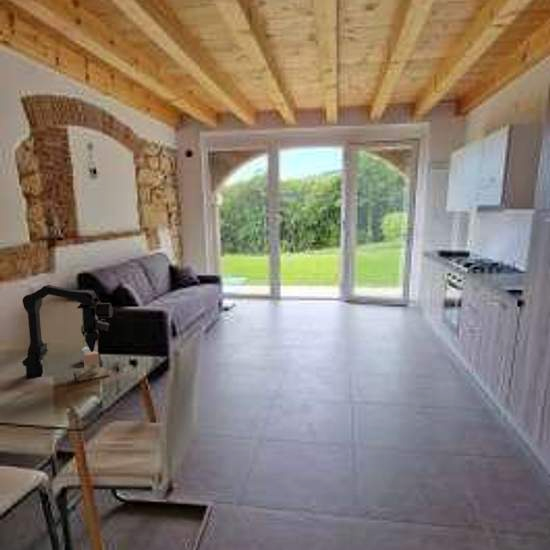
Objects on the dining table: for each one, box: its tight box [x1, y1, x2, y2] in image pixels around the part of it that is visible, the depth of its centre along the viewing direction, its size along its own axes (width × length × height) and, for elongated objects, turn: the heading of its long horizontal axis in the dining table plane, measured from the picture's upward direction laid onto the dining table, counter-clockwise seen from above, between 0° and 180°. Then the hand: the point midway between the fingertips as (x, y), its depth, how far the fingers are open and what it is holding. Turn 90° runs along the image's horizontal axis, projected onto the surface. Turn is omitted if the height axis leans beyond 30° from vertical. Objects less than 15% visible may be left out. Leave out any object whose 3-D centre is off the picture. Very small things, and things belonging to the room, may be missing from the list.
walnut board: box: [74, 366, 111, 382], centre depth 199 cm, size 14×12×1 cm
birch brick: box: [83, 363, 100, 376], centre depth 199 cm, size 6×4×5 cm, turn 121°
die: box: [76, 346, 95, 364], centre depth 215 cm, size 8×9×10 cm
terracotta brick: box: [83, 350, 100, 366], centre depth 198 cm, size 6×4×5 cm, turn 121°
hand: (90, 348), depth 197 cm, fingers open, 9 cm apart
